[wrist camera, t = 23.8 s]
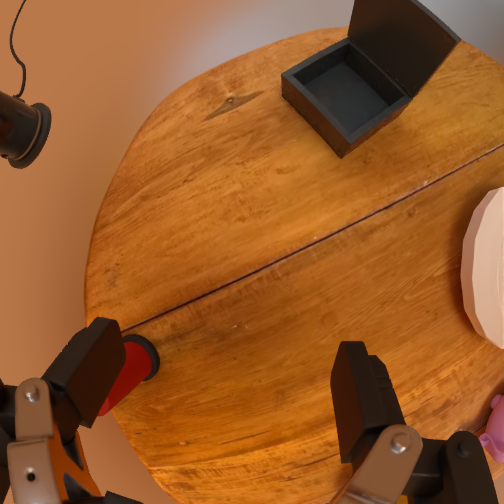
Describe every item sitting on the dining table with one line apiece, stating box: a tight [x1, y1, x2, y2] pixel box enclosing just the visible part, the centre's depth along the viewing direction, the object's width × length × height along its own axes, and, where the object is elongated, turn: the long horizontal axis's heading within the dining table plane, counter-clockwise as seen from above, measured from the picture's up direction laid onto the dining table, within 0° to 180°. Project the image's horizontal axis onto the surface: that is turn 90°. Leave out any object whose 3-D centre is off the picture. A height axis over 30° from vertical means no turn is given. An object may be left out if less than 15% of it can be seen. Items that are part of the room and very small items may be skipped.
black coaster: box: [122, 334, 160, 381], centre depth 32 cm, size 6×6×1 cm
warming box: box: [281, 37, 413, 159], centre depth 27 cm, size 10×10×5 cm
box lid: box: [347, 0, 461, 97], centre depth 18 cm, size 11×10×1 cm
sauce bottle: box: [97, 342, 152, 416], centre depth 25 cm, size 5×5×13 cm
